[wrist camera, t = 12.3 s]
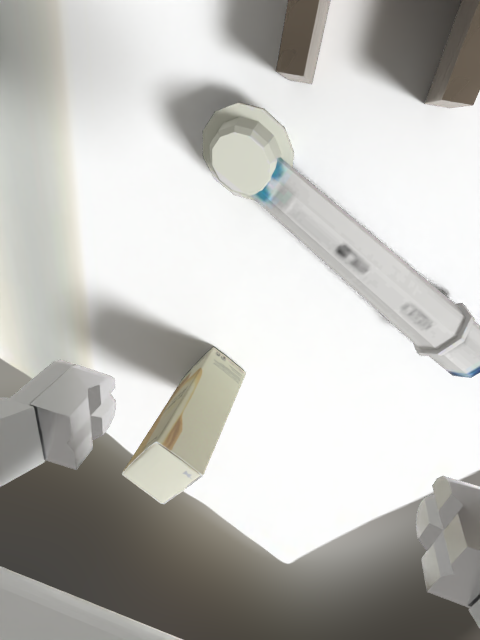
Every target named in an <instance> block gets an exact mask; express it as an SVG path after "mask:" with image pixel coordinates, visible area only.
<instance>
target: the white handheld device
mask: <svg viewBox="0 0 480 640" xmlns="http://www.w3.org/2000/svg"><path fill="white" fill-rule="evenodd" d="M203 157H204V159H205V161H206V163H207V165H208V167H209V169H210V171H211V173H212V175H213V177H214V179H215V180H216V181H217V182H219V183H220V184H221V185H222V186H224V187H225V188H226V189H227V190H228V191H230V192H231V193H232V194H233V195H235V196H239V197H243V198H247V199H251V200H255V201H257V202H258V203H259V204H260V205H261V206H263V207H264V208H265V209H266V210H267V211H268V212H269V213H270V214H271V215H272V216H274V217H275V218H276V219H277V220H278V221H279V222H280V223H281V224H282V225H284V226H285V227H286V228H287V229H288V230H289V231H290V232H291V233H292V234H294V235H295V236H296V237H297V238H298V239H299V240H300V241H301V242H302V243H303V244H305V245H306V246H307V247H308V248H309V249H310V250H311V251H312V252H313V253H315V254H316V255H317V256H318V257H319V258H320V259H321V260H322V261H323V262H325V263H326V264H327V265H328V266H329V267H330V268H331V269H332V270H333V271H334V272H336V273H337V274H338V275H339V276H340V277H341V278H342V279H343V280H344V281H346V282H347V283H348V284H349V285H350V286H351V287H352V288H353V289H354V290H356V291H357V292H358V293H359V294H360V295H361V296H362V297H363V298H364V299H365V300H367V301H368V302H369V303H370V304H371V305H372V306H373V307H374V308H375V309H377V310H378V311H379V312H380V313H381V314H382V315H383V316H384V317H385V318H386V319H388V320H389V321H390V322H391V323H392V324H393V325H394V326H395V327H396V328H398V329H399V330H400V331H401V332H402V333H403V334H404V335H405V336H406V337H408V338H409V339H410V340H411V341H412V342H413V344H414V346H415V349H416V351H417V353H418V354H419V355H423V356H429V357H431V358H432V359H433V360H434V361H435V362H437V363H438V364H439V365H440V366H442V367H443V368H444V369H445V370H446V371H448V372H449V373H450V374H451V375H452V376H461V377H469V378H471V377H473V376H475V375H476V374H478V373H480V326H479V325H478V324H477V323H476V322H475V321H474V320H475V319H474V318H473V316H472V315H471V313H470V312H469V311H468V309H467V308H466V306H465V305H464V304H463V303H458V304H454V303H453V302H452V301H451V300H450V299H449V298H447V297H446V296H445V295H444V294H443V293H441V292H440V291H439V290H438V289H437V288H435V287H434V286H433V285H432V284H431V283H429V282H428V281H427V280H426V279H425V278H424V277H422V276H421V275H420V274H419V273H418V272H416V271H415V270H414V269H413V268H412V267H410V266H409V265H408V264H407V263H406V262H404V261H403V260H402V259H401V258H400V257H399V256H397V255H396V254H395V253H394V252H393V251H391V250H390V249H389V248H388V247H387V246H385V245H384V244H383V243H382V242H381V241H379V240H378V239H377V238H376V237H375V236H374V235H372V234H371V233H370V232H369V231H368V230H366V229H365V228H364V227H363V226H362V225H360V224H359V223H358V222H357V221H356V220H354V219H353V218H352V217H351V216H350V215H349V214H347V213H346V212H345V211H344V210H343V209H341V208H340V207H339V206H338V205H337V204H335V203H334V202H333V201H332V200H331V199H329V198H328V197H327V196H326V195H325V194H324V193H322V192H321V191H320V190H319V189H318V188H316V187H315V186H314V185H313V184H312V183H310V182H309V181H308V180H307V179H306V178H305V177H303V176H302V175H301V174H300V173H299V172H297V171H296V170H295V169H294V168H293V158H294V150H293V148H292V145H291V143H290V140H289V138H288V135H287V133H286V130H285V128H284V127H283V126H282V125H281V124H280V123H279V122H278V121H277V120H276V119H275V118H274V117H273V116H271V115H270V114H269V113H268V112H267V111H266V110H265V109H263V108H259V107H255V106H251V105H247V104H243V103H236V104H233V105H231V106H228V107H225V108H223V109H220V110H217V111H215V112H214V114H213V115H212V117H211V119H210V120H209V122H208V123H207V125H206V127H205V128H204V130H203Z"/></svg>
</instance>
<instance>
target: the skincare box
mask: <svg viewBox="0 0 480 640" xmlns="http://www.w3.org/2000/svg"><path fill="white" fill-rule="evenodd" d="M245 375H246V372H245V371H243V370H242V369H241V368H240V367H238V366H237V365H236V364H235V363H234V362H233V361H231V360H230V359H229V358H228V357H226V356H225V355H224V354H222V353H221V352H220V351H218V350H217V349H216V348H214V347H213V348H212V349H211V350H209V351H208V352H207V353H206V354H205V355H204V356H203V357H202V358H201V359H200V360H199V361H198V362H197V363H196V364H195V365H194V367H193V368H192V369H191V370H190V371H189V372H188V373H187V375H186V376H185V377H184V378H183V379H182V381H181V382H180V384H179V386H178V387H177V389H176V390H175V392H174V393H173V395H172V396H171V398H170V400H169V401H168V403H167V404H166V406H165V407H164V409H163V410H162V412H161V414H160V415H159V417H158V418H157V420H156V421H155V423H154V424H153V426H152V427H151V429H150V431H149V432H148V434H147V435H146V437H145V438H144V440H143V441H142V443H141V445H140V446H139V448H138V449H137V451H136V452H135V454H134V455H133V457H132V458H131V460H130V462H129V463H128V465H127V466H126V468H125V469H124V471H123V472H122V475H123V476H125V477H126V478H127V479H129V480H130V481H131V482H133V483H134V484H135V485H137V486H138V487H139V488H141V489H142V490H144V491H145V492H146V493H147V494H149V495H150V496H151V497H153V498H154V499H155V500H157V501H158V502H159V503H161V504H165V503H166V502H168V501H169V500H170V499H172V498H174V497H175V496H176V495H178V494H179V493H181V492H182V491H184V490H185V489H186V488H187V487H189V486H190V485H191V484H193V483H194V482H195V481H197V480H198V479H199V478H201V477H202V476H203V474H204V472H205V469H206V467H207V465H208V463H209V460H210V458H211V455H212V453H213V451H214V448H215V446H216V443H217V441H218V439H219V436H220V434H221V432H222V429H223V427H224V424H225V422H226V420H227V417H228V415H229V413H230V410H231V408H232V405H233V403H234V401H235V398H236V396H237V394H238V391H239V389H240V387H241V384H242V382H243V379H244V377H245Z"/></svg>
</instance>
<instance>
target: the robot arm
mask: <svg viewBox="0 0 480 640" xmlns="http://www.w3.org/2000/svg"><path fill="white" fill-rule="evenodd" d="M114 389H115V379H114V378H113V377H112V376H110V375H107V374H104V373H101V372H98V371H95V370H92V369H89V368H86V367H83V366H80V365H76V364H73V363H70V362H67V361H64V360H61V359H60V360H57V361H54V362H52V363H51V364H50V365H49V366H48V367H46V368H45V369H44V370H43V371H42V372H40V373H39V374H38V375H37V376H35V377H34V378H33V379H32V380H31V381H30V382H28V383H27V384H26V385H25V386H23V387H22V388H21V389H20V390H19V391H17V392H16V393H15V394H14V395H12V396H11V397H10V398H6V397H1V398H0V487H1V486H3V485H4V484H6V483H8V482H10V481H12V480H13V479H15V478H17V477H19V476H20V475H22V474H24V473H26V472H28V471H29V470H31V469H33V468H35V467H36V466H38V465H40V464H42V463H44V462H45V461H44V460H47V461H50V462H53V463H56V464H59V465H62V466H66V467H69V468H72V469H75V470H77V468H78V467H79V466H80V464H81V463H82V462H83V460H84V459H85V458H86V457H87V455H88V454H89V453H90V452H91V450H92V449H93V446H92V440H94V439H96V438H98V437H100V436H102V435H104V433H105V432H106V430H107V429H108V428H109V426H110V424H111V422H112V420H113V418H114V414H115V409H116V400H115V399H114V397H113V396H112V395H111V392H112V391H113V390H114ZM432 486H433V490H434V494H432V495H429V496H426V497H424V499H423V500H422V502H421V503H420V505H419V508H418V512H417V517H416V529H417V536H418V540H419V541H420V542H421V544H422V545H423V547H424V548H425V549H426V551H427V552H426V553H425V555H424V556H423V558H422V566H423V572H424V577H425V583H426V588H427V592H429V593H432V594H434V595H437V596H439V597H442V598H445V599H447V600H450V601H453V602H455V603H458V604H461V605H464V606H466V607H469V611H470V613H471V615H472V617H473V618H474V620H475V621H476V623H477V625H478V626H479V628H480V487H479V486H476V485H472V484H469V483H465V482H462V481H459V480H455V479H452V478H448V477H445V476H441V477H439V478H437V480H436V481H435V482H434V484H433V485H432ZM0 640H182V639H180V638H177V637H175V636H172V635H170V634H167V633H165V632H162V631H160V630H157V629H155V628H152V627H150V626H147V625H145V624H142V623H140V622H138V621H135V620H132V619H130V618H127V617H125V616H122V615H120V614H118V613H115V612H113V611H110V610H107V609H105V608H103V607H100V606H98V605H95V604H93V603H90V602H88V601H85V600H83V599H80V598H78V597H75V596H73V595H70V594H68V593H65V592H63V591H60V590H58V589H55V588H53V587H51V586H48V585H46V584H43V583H41V582H38V581H36V580H33V579H31V578H28V577H26V576H23V575H21V574H18V573H15V572H13V571H11V570H8V569H6V568H3V567H1V566H0Z"/></svg>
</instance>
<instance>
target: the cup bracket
mask: <svg viewBox="0 0 480 640" xmlns="http://www.w3.org/2000/svg"><path fill="white" fill-rule="evenodd" d="M329 5H330V0H288V5H287V11H286V16H285V22H284V28H283V34H282V39H281V45H280V51H279V57H278V62H277V68H276V72H277V73H279V74H280V75H282V76H284V77H285V78H287V79H288V80H291V81H297V82H302V83H308V84H312V82H313V78H314V73H315V69H316V64H317V60H318V55H319V50H320V46H321V41H322V37H323V32H324V28H325V23H326V19H327V14H328V9H329ZM479 90H480V0H462V1H461V3H460V6H459V9H458V12H457V15H456V17H455V20H454V23H453V26H452V28H451V31H450V34H449V37H448V39H447V42H446V45H445V48H444V51H443V53H442V56H441V59H440V62H439V64H438V67H437V70H436V73H435V75H434V78H433V81H432V84H431V86H430V89H429V92H428V95H427V98H426V100H425V103H424V104H429V105H435V106H440V107H446V108H455V107H463V106H472V105H473V104H474V102H475V100H476V97H477V95H478V93H479Z"/></svg>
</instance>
